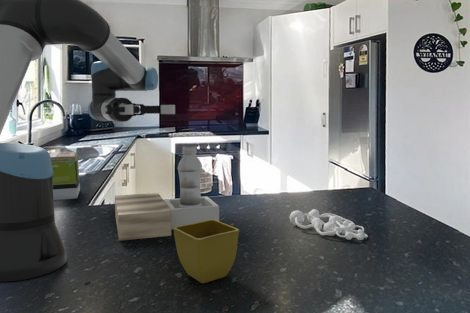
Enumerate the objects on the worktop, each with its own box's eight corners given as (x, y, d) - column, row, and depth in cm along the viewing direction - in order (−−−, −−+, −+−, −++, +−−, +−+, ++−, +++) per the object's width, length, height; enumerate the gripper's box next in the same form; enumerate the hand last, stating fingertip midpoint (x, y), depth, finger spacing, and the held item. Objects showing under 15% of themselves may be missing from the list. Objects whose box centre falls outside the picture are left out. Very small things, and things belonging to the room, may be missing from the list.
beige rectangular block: (171, 235, 98) (170, 210, 97) (119, 240, 94) (118, 215, 93) (158, 213, 119) (158, 192, 118) (115, 216, 115) (114, 195, 114)
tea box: (51, 192, 150) (48, 151, 148) (80, 190, 153) (78, 150, 151) (45, 201, 135) (42, 156, 134) (78, 198, 138) (75, 155, 137)
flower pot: (198, 291, 68) (197, 238, 67) (173, 274, 75) (172, 226, 74) (240, 278, 73) (240, 229, 72) (213, 263, 80) (213, 218, 79)
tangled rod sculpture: (382, 241, 97) (384, 224, 97) (340, 248, 89) (342, 229, 89) (323, 220, 113) (325, 206, 113) (283, 224, 106) (284, 208, 105)
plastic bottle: (173, 222, 109) (171, 147, 106) (187, 216, 115) (186, 144, 113) (194, 225, 106) (192, 148, 104) (207, 218, 112) (206, 145, 110)
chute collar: (219, 225, 106) (219, 206, 106) (171, 229, 103) (170, 209, 102) (207, 213, 118) (207, 196, 118) (164, 217, 114) (163, 199, 114)
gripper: (152, 120, 140) (189, 121, 125) (80, 122, 123) (113, 123, 108) (151, 98, 139) (189, 96, 124) (78, 97, 122) (111, 95, 107)
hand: (153, 109), depth 116 cm, fingers open, 13 cm apart
